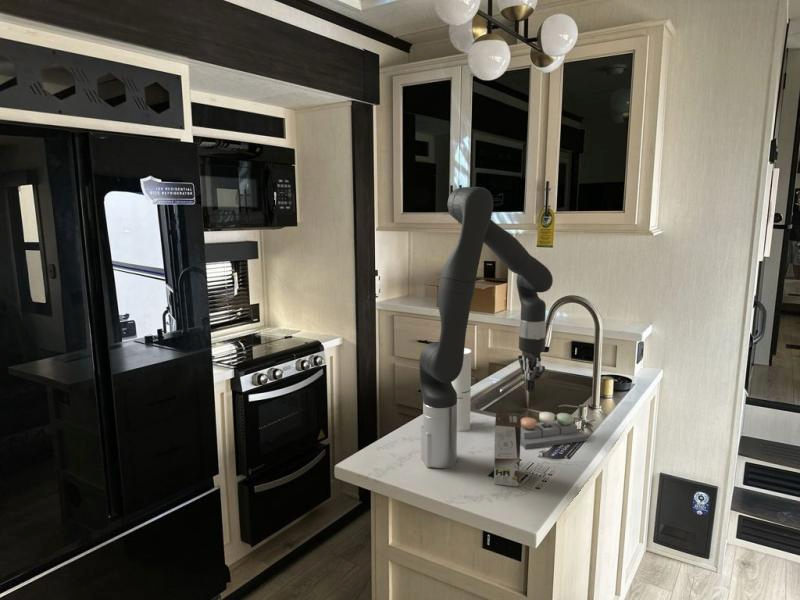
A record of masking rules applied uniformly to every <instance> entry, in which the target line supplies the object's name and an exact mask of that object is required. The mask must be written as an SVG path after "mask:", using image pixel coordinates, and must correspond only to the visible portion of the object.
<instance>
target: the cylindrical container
mask: <svg viewBox="0 0 800 600" xmlns="http://www.w3.org/2000/svg"><path fill="white" fill-rule="evenodd" d="M471 381H472V349H469V348H466V347H465V348H464V359H463V366H462V370H461V372H460V374H459V376H458V377H457V378H456V379H455V380H454V381H452V382H451V383H452V385H453V387H454V389H455V391H456V393H457V432H464V431H468V430H470V428H471V394H472V393H471V391H472V390H471V386H472V384H471V383H472V382H471Z"/></svg>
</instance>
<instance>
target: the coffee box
mask: <svg viewBox="0 0 800 600" xmlns="http://www.w3.org/2000/svg"><path fill="white" fill-rule="evenodd" d="M520 439H521V414H520V413H516V412H496V413H495V427H494V455H493V457H494V463H493V464H494V465H493V468H494V469H493V470H494V471H493V474H494V475H493V484H494V485H501V486H510V487H519V484H520V483H519V481H520V479H519V478H520V465H521V464H520V463H521V462H520V461H521V460H520V458H521V445H520Z"/></svg>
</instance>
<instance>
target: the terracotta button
mask: <svg viewBox="0 0 800 600" xmlns="http://www.w3.org/2000/svg"><path fill="white" fill-rule="evenodd" d="M520 421H521V426H522V427H523V428H525V429H526V430H532V429H534V428H536V423H537V419H535V418H534V417H526V416H525V417H522V418H520Z"/></svg>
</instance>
